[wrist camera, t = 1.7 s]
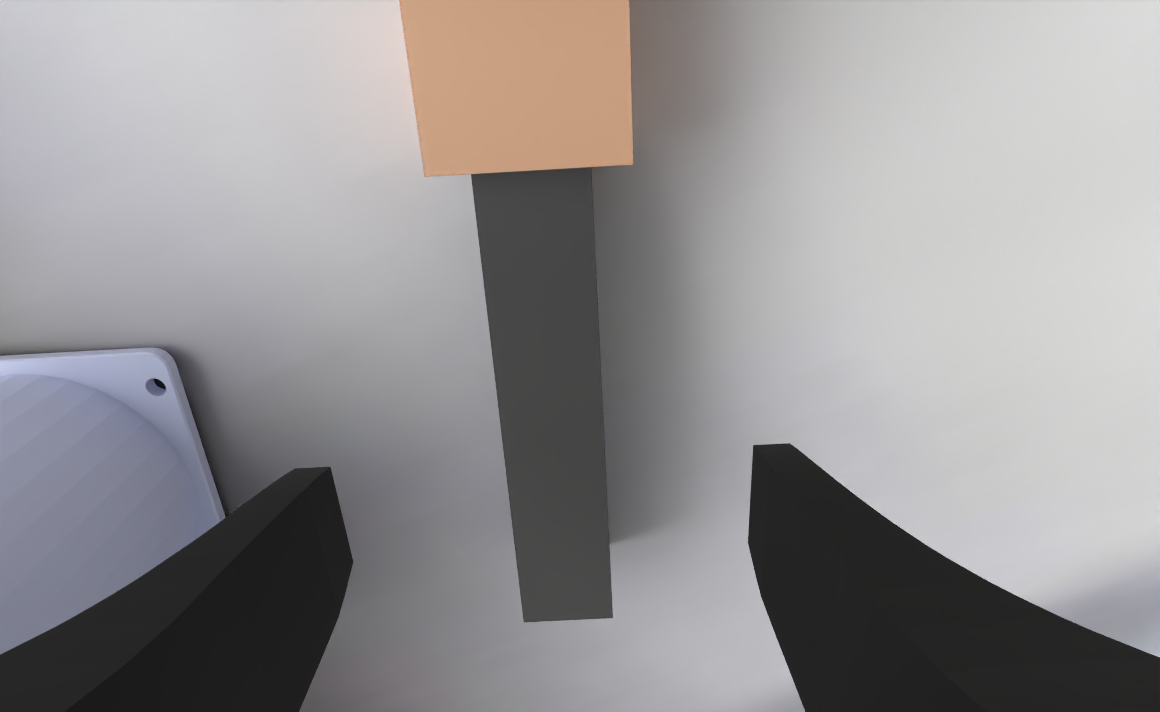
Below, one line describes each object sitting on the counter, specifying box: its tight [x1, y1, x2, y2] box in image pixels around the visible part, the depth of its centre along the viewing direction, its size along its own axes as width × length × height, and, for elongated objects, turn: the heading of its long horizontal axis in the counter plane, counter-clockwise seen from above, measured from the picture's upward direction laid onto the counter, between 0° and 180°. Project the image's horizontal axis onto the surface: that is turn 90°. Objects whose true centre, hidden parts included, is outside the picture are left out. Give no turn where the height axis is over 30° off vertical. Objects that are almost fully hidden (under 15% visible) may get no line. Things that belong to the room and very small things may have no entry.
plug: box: [399, 0, 633, 622], centre depth 17 cm, size 17×4×4 cm, turn 3°
